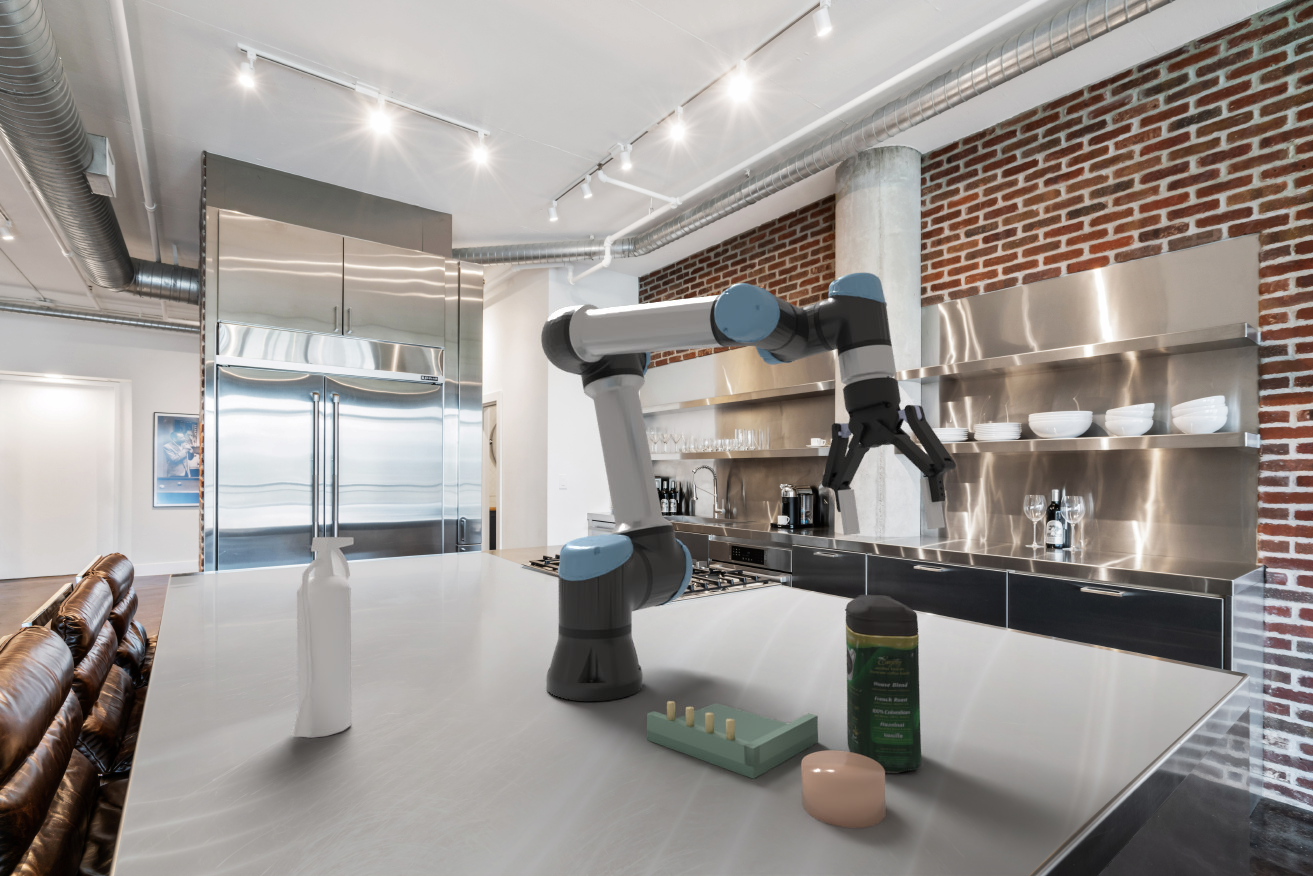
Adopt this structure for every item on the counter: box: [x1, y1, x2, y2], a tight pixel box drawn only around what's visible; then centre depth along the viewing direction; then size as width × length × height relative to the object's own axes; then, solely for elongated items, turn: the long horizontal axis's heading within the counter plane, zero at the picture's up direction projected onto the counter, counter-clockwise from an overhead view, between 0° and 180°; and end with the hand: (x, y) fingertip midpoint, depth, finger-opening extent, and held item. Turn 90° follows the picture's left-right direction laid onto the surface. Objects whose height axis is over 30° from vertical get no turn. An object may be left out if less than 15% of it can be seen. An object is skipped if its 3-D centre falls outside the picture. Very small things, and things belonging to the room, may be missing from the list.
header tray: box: [646, 700, 819, 779], centre depth 82 cm, size 16×14×5 cm
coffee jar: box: [844, 594, 922, 774], centre depth 77 cm, size 10×8×19 cm
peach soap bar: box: [800, 750, 887, 829], centre depth 65 cm, size 8×8×4 cm
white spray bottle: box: [290, 536, 355, 739], centre depth 85 cm, size 7×12×25 cm, turn 176°
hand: (891, 531), depth 90 cm, fingers open, 13 cm apart
